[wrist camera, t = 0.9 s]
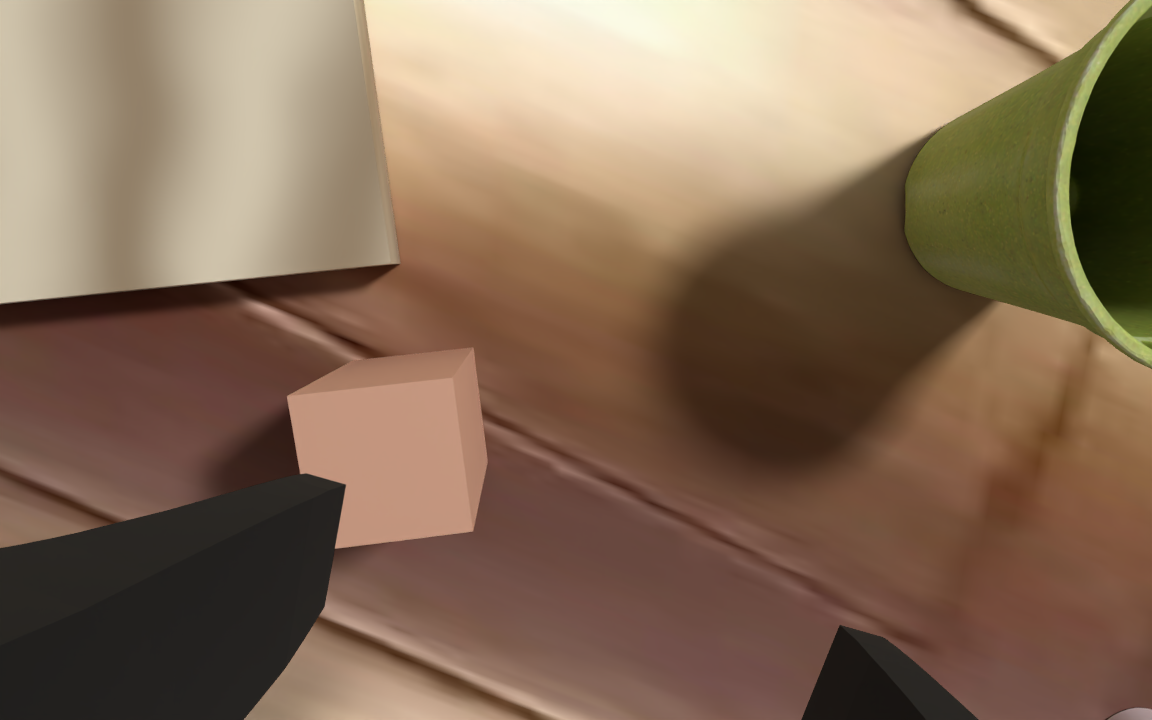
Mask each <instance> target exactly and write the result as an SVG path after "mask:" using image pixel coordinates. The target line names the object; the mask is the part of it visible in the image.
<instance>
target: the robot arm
mask: <svg viewBox="0 0 1152 720" xmlns="http://www.w3.org/2000/svg"><path fill="white" fill-rule="evenodd" d="M345 489H346V484H342V483H339V482H335V481H332V480H328V479H325V478H321V477H318V476H314V475H311V474H307V473H305V474H299V475H294V476H289V477H285V478H281V479H277V480H273V481H269V482H266V483H262V484H259V485H255V486H251V487H248V488H244V489H241V490H238V491H234V492H231V493H227V494H224V495H220V496H216V497H213V498H209V499H206V500H202V501H199V502H195V503H192V504H188V505H185V506H181V507H178V508H174V509H171V510H167V511H163V512H159V513H155V514H151V515H147V516H143V517H139V518H135V519H131V520H127V521H123V522H119V523H115V524H111V525H107V526H103V527H99V528H95V529H91V530H87V531H83V532H79V533H74V534H70V535H65V536H61V537H56V538H51V539H46V540H41V541H36V542H32V543H27V544H22V545H16V546H11V547H5V548H0V720H244V718H245V717H246V716H247V715H248V714H249V712H250V711H251V710H252V709H253V707H254V706H255V705H256V704H257V703H258V701H259V700H260V699H261V698H262V696H263V695H264V694H265V693H266V691H267V690H268V689H269V688H270V687H271V685H272V684H273V683H274V682H275V680H276V679H277V678H278V677H279V675H280V674H281V673H282V672H283V670H284V669H285V668H286V666H287V665H288V663H289V662H290V660H291V659H292V657H293V656H294V654H295V653H296V651H297V650H298V648H299V646H300V645H301V643H302V642H303V640H304V639H305V637H306V636H307V634H308V632H309V631H310V629H311V627H312V626H313V624H314V623H315V621H316V619H317V618H318V616H319V615H320V613H321V611H322V610H323V608H324V606H325V601H326V595H327V590H328V584H329V578H330V573H331V567H332V562H333V556H334V550H335V545H336V539H337V534H338V528H339V522H340V517H341V511H342V506H343V500H344V494H345ZM802 720H978V719H977V718H976V717H975V716H974V715H973V714H972V713H971V712H970V711H969V710H967V709H966V708H965V707H964V706H963V705H962V704H961V703H960V702H959V701H958V700H956V699H955V698H954V697H953V696H952V695H951V694H950V693H949V692H948V691H947V690H946V689H944V688H943V687H942V686H941V685H940V684H939V683H938V682H937V681H936V680H934V679H933V678H932V677H931V676H930V675H929V674H928V673H927V672H925V671H924V670H923V669H922V668H921V667H920V666H919V665H917V664H916V663H915V662H914V661H913V660H912V659H910V658H909V657H908V656H907V655H906V654H904V653H903V652H902V651H901V650H900V649H898V648H897V647H896V646H894V645H893V644H892V643H890V642H889V641H888V640H886V639H885V638H883V637H880V636H877V635H873V634H870V633H866V632H863V631H859V630H856V629H852V628H849V627H845V626H841V625H840V626H839V628H838V631H837V633H836V636H835V638H834V641H833V643H832V645H831V648H830V650H829V653H828V655H827V658H826V660H825V663H824V665H823V668H822V670H821V673H820V675H819V678H818V680H817V683H816V685H815V688H814V690H813V692H812V695H811V697H810V700H809V702H808V705H807V707H806V710H805V712H804V715H803V717H802Z"/></svg>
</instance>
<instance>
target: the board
mask: <svg viewBox="0 0 1152 720" xmlns="http://www.w3.org/2000/svg"><path fill="white" fill-rule="evenodd" d="M394 264H400V257H399V250H398V243H397V235H396V228H395V221H394V214H393V207H392V200H391V193H390V186H389V178H388V171H387V164H386V157H385V150H384V143H383V136H382V129H381V121H380V114H379V107H378V100H377V93H376V86H375V79H374V72H373V64H372V57H371V50H370V43H369V36H368V29H367V22H366V15H365V7H364V0H0V304H8V303H18V302H28V301H38V300H48V299H58V298H67V297H77V296H87V295H97V294H107V293H117V292H127V291H137V290H147V289H157V288H166V287H176V286H186V285H196V284H206V283H216V282H226V281H236V280H246V279H255V278H265V277H275V276H285V275H295V274H305V273H315V272H325V271H335V270H345V269H354V268H364V267H374V266H384V265H394Z"/></svg>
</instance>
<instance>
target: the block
mask: <svg viewBox="0 0 1152 720" xmlns="http://www.w3.org/2000/svg"><path fill="white" fill-rule="evenodd" d="M287 399H288V405H289V411H290V417H291V423H292V428H293V434H294V440H295V446H296V452H297V457H298V463H299V469H300V474H305V473H307V474H311V475H314V476H318V477H321V478H325V479H328V480H332V481H335V482H339V483H342V484H346V489H345V494H344V500H343V506H342V511H341V517H340V522H339V528H338V534H337V539H336V545H335V549H337V548H345V547H353V546H361V545H369V544H377V543H385V542H393V541H401V540H409V539H417V538H425V537H433V536H441V535H449V534H457V533H465V532H472V531H473V529H474V524H475V519H476V515H477V510H478V505H479V500H480V496H481V491H482V486H483V481H484V477H485V472H486V467H487V462H488V460H487V453H486V445H485V437H484V429H483V421H482V413H481V405H480V397H479V389H478V381H477V373H476V366H475V358H474V350H473V348H463V349H454V350H445V351H436V352H427V353H418V354H409V355H399V356H390V357H381V358H372V359H363V360H354V361H351V362H349V363H348V364H346V365H344V366H342V367H340V368H338V369H336V370H335V371H333V372H331V373H329V374H327V375H325V376H323V377H322V378H320V379H318V380H316V381H314V382H312V383H311V384H309V385H307V386H305V387H303V388H301V389H299V390H298V391H296V392H294V393H292V394H290V395H288V396H287Z"/></svg>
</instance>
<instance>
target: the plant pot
mask: <svg viewBox="0 0 1152 720" xmlns="http://www.w3.org/2000/svg"><path fill="white" fill-rule="evenodd" d="M905 194H906V202H905V206H906V215H905V228H904V230H905V235H906V238H907V241H908V244H909V246H910V248H911V250H912V252H913V254H914V255H915V257H916V258H917V260H918V261H919V263H920V264H921V265H922V267H923V268H924V269H925V270H926V271H927V272H929V273H930V274H931V275H932V276H933V277H935V278H936V279H938V280H939V281H941V282H943V283H944V284H946V285H948V286H950V287H953V288H956V289H959V290H961V291H965V292H969V293H972V294H976V295H979V296H983V297H986V298H990V299H994V300H997V301H1001V302H1004V303H1008V304H1011V305H1015V306H1018V307H1021V308H1025V309H1028V310H1032V311H1035V312H1039V313H1042V314H1046V315H1049V316H1052V317H1056V318H1059V319H1062V320H1066V321H1069V322H1072V323H1075V324H1079V325H1082V326H1084V327H1086V328H1087V329H1089V330H1090V331H1092V332H1093V333H1095V334H1097V335H1099V336H1101V337H1103V338H1105V339H1106V340H1107V341H1108V342H1109V343H1110V344H1112V345H1113V346H1114V347H1115V348H1116V349H1118V350H1119V351H1121V352H1122V353H1124V354H1125V355H1127V356H1128V357H1130V358H1131V359H1133V360H1134V361H1136V362H1138V363H1140V364H1142V365H1144V366H1147V367H1149V368H1151V369H1152V0H1130V1H1129V2H1128V3H1127V4H1126V5H1125V6H1124V7H1123V8H1122V9H1121V10H1120V11H1119V12H1118V13H1117V14H1116V15H1115V16H1114V18H1113V19H1112V20H1111V21H1110V22H1109V24H1108V25H1107V26H1106V27H1105V28H1104V29H1103V30H1101V31H1100V32H1099V33H1098V34H1096V35H1095V36H1094V37H1093V38H1092V39H1091V40H1090V41H1089V42H1088V43H1087V44H1086V45H1085V46H1084V47H1083V48H1082V49H1080V50H1079V51H1077V52H1075V53H1073V54H1072V55H1070V56H1068V57H1066V58H1065V59H1063V60H1061V61H1060V62H1058V63H1056V64H1054V65H1053V66H1051V67H1049V68H1047V69H1046V70H1044V71H1042V72H1040V73H1039V74H1037V75H1035V76H1033V77H1031V78H1030V79H1028V80H1026V81H1024V82H1022V83H1021V84H1019V85H1017V86H1015V87H1013V88H1011V89H1010V90H1008V91H1006V92H1004V93H1002V94H1001V95H999V96H997V97H995V98H993V99H991V100H989V101H988V102H986V103H984V104H982V105H980V106H979V107H977V108H975V109H973V110H971V111H969V112H968V113H966V114H964V115H962V116H960V117H958V118H957V119H955V120H953V121H952V122H950V123H948V124H947V125H946V126H944V127H943V128H942V129H940V130H939V131H938V132H937V133H936V134H935V135H934V136H932V137H931V138H930V139H929V141H928V142H927V143H926V144H925V145H924V147H923V148H922V149H921V151H920V152H919V154H918V155H917V157H916V159H915V160H914V162H913V164H912V166H911V168H910V171H909V174H908V177H907V179H906V183H905Z"/></svg>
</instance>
